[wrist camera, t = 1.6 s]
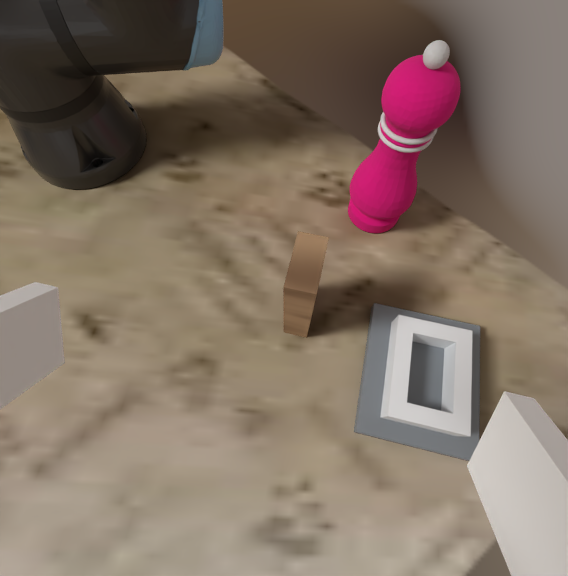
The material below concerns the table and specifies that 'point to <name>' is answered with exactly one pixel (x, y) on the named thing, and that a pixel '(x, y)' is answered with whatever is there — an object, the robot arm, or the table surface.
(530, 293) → the table surface
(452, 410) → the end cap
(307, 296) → the wooden slat
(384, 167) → the pepper mill
